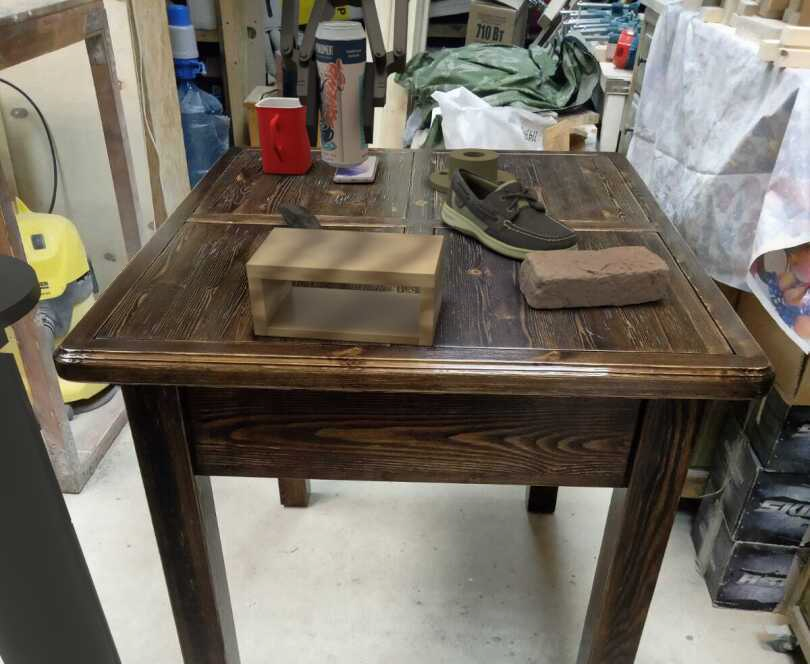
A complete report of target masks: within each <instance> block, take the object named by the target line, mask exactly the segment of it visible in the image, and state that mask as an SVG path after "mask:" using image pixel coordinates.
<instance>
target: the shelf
mask: <svg viewBox="0 0 810 664" xmlns="http://www.w3.org/2000/svg"><path fill="white" fill-rule="evenodd" d="M444 243H445V235H440V234H439V235H436V234H418V233H416V234H415V233H398V232H397V233H396V232H378V231H377V232H376V231H375V232H374V231H358V230H357V231H355V230H335V229H325V230H316V229H295V228H290V227H274V228H272V230H271V231H270V232H269V234H268V235H267V237H266V238H265V239H264V240H263V242H262V243H261V244H260V246H259V247H258V248H257V249H256V251H255V252H254V253H253V255H252V256H251V257H250V259H249V260H248V261H247V262H246V264H245V267H246V275H247V282H248V290H249V297H250V303H251V304H250V307H251V313H252V323H253V330H254V336H264V337H266V336H267V337H279V338H280V337H281V338H294V339H295V338H296V339H299V338H300V339H313V340H328V341H329V340H331V341H346V342H361V343H363V342H364V343H379V344H380V343H381V344H395V345H410V346H411V345H412V346H427V347H433V344H434V339H435V334H436V330H437V324H438V320H439V316H440V311H441V306H442V296H443V270H444V248H445V247H444V246H445V244H444ZM292 281H298V282H317V283H333V284H334V283H335V284H352V285H353V284H354V285H371V286H391V287H406V288H407V287H410V288H419V293H417V292H415V293H414V292H397V291H396V292H395V291H377V290H362V289H361V290H359V289H342V288H327V287H326V288H325V287H324V288H323V287H308V286H307V287H305V286H293V283H292Z"/></svg>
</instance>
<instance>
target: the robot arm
mask: <svg viewBox="0 0 810 664" xmlns="http://www.w3.org/2000/svg"><path fill="white" fill-rule="evenodd" d="M410 2H411V0H394V17H393V38H392V39H393V40H392V50H390V51H387V49H386V47H385V43H384V38H383V34H382V28H381V24H380V19H379V14H378V10H377V5H376V1H375V0H314V2H313V5H312V8H311V12H310V15H309V18H308V21H307V24H306V27H305V30H304V33H303V37H302V40H301V43H300V45H299V49H298V43H299V42H298V41H299V23H300V9H301V8H300V7H301V1H300V0H282V1H281V14H280V15H281V16H280V17H281V18H280V32H279V48H278V49H279V54H280V57H281V60H282V61H281V62H282V65H283V68H284V71H286V72H289V73H290V72H291V73H292V72H293V71H294V72H296V73H297V75H296V76H297V77H296V78H297V79H296V94H297V98H299V102H300V105H302V106H306V123H305V126H306V130H307V134H308V138H309V142H310V144H312V143H313V144H314V143H316V144H317V143H318V140H319V139H318V137H319V122H320V116H319V94H318V76H317V61H316V44H315V34H316V31H317V28H318V26H319V23H321V22H325V21H332V19H334V17H335V13H336V10H337V8H342V7H345V6H350V7H353V8H360V10H361V15H362V19H363V22H364V27H365V31H366V32H365V33H366V38H367V41H368V46H369V50H370V55H371V60H372V61H367V62H366V75H365V96H364V117H363V130H364V138H365V144H368V145H374V129H375V110H376V108H385V106H386V104H387V93H388V92H387V90H388V79H389V77H390V75H393V74H395V73H396V74H398V75H402V74H404V73H406V71H407V59H408V58H407V56H408V33H409V29H408V28H409V9H410V7H409V6H410Z"/></svg>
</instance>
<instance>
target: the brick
mask: <svg viewBox="0 0 810 664" xmlns="http://www.w3.org/2000/svg"><path fill="white" fill-rule="evenodd" d="M670 271H671V270H670V267H669V265H668V264H667V263H666V261H665V260H663V259H662V258H661V257H660V256H659V255H657V254H656V253H654V252H652V250H650V249H648V248H647V247H646V246H645V245H640V246H638V245H629V246H615V247H608V248H603V249H598V250H594V249H591V250H586V249H585V250H584V249H583V250H578V251H570V250H562V251H558V250H555V251H549V252H545V251H543V252H539V253H534V252H531V253H527V254H526V255H525V259H524V260H522V262H521V265H520V268H519V276H518V280H519V290H520V291H521V293H522V294H523V295H524V297H525V299H526V303H527V304H528V305H529V306H530V307H531V308H534V309H538V310H539V309H543V310H544V309H548V310H549V309H550V310H551V309H561V308H567V309H568V308H581V307H582V308H592V307H601V306H612V307H613V306H615V307H620V306H626V305H627V306H628V305H639V304H642V303H648V302H655V301H658V300H660V299H661V298H662V297H663V296H664V295H665V293H666V289H667V286H668V283H669V274H670Z"/></svg>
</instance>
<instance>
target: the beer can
mask: <svg viewBox="0 0 810 664" xmlns="http://www.w3.org/2000/svg"><path fill="white" fill-rule="evenodd" d="M315 44H316V61H317V76H318V94H319V130H320V131H319V133H320V149H321V159H322V161H324V162H325V163H327V164H328V165H329V166H331V167H333V168H334V167H335V168H338V167H341V168H350V167H356V166H360V165H362V164H363V162H365V161H366V160H367V159H368V157H369V156H370V155H369V144H365V138H364V130H363V117H364V96H365V75H366V62H368V61H367V59H368V58H367V33H366V32H365V29H364V28H363V26H362V23H361V22H359V21H353V20H331V21H325V22H321V23H319V26H318V28H317V31H316V34H315Z"/></svg>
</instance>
